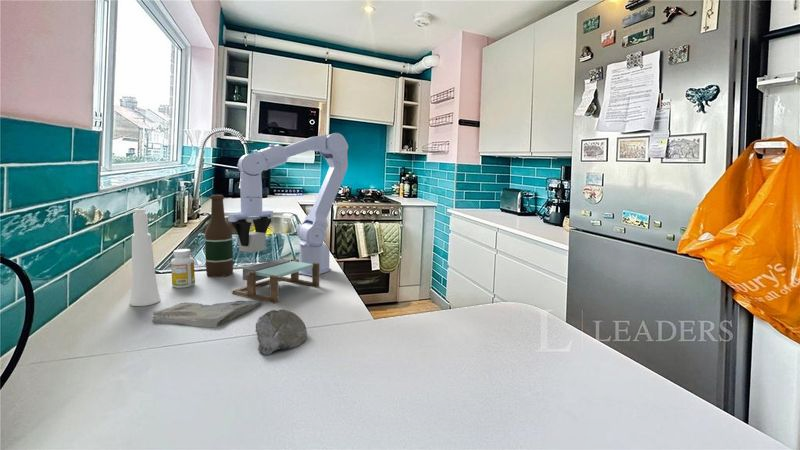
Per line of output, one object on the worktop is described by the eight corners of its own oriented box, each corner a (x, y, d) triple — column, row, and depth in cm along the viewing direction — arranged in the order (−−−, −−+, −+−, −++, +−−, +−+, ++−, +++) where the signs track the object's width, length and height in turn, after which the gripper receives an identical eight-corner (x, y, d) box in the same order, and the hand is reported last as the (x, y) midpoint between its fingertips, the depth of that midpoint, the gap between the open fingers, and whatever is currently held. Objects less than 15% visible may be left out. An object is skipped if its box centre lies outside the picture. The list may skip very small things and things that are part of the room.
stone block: (252, 248, 113) (252, 231, 113) (265, 249, 111) (265, 232, 110) (239, 250, 109) (238, 233, 108) (251, 252, 107) (251, 235, 106)
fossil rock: (146, 325, 78) (145, 314, 78) (192, 301, 93) (192, 292, 93) (227, 330, 76) (227, 319, 76) (262, 305, 91) (261, 296, 91)
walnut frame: (281, 277, 113) (281, 256, 112) (321, 285, 107) (321, 262, 106) (229, 294, 97) (229, 269, 96) (272, 304, 91) (272, 277, 90)
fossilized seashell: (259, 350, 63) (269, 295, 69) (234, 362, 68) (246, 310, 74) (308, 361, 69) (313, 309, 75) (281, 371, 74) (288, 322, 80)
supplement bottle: (187, 281, 107) (185, 247, 106) (199, 284, 105) (197, 249, 103) (167, 286, 102) (166, 250, 101) (180, 289, 100) (178, 253, 99)
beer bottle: (225, 269, 121) (222, 193, 118) (238, 273, 117) (236, 195, 114) (200, 274, 115) (197, 194, 112) (214, 278, 111) (211, 195, 107)
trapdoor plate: (280, 268, 110) (280, 258, 110) (313, 274, 105) (313, 263, 105) (241, 280, 98) (241, 268, 97) (276, 287, 93) (276, 275, 92)
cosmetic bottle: (159, 296, 94) (154, 207, 91) (161, 303, 89) (156, 209, 86) (129, 300, 90) (123, 208, 88) (129, 308, 86) (123, 210, 83)
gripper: (260, 195, 116) (261, 239, 118) (219, 197, 103) (221, 246, 105) (278, 196, 113) (278, 241, 115) (238, 198, 100) (239, 249, 102)
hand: (252, 244), depth 110 cm, fingers closed on stone block, 5 cm apart
